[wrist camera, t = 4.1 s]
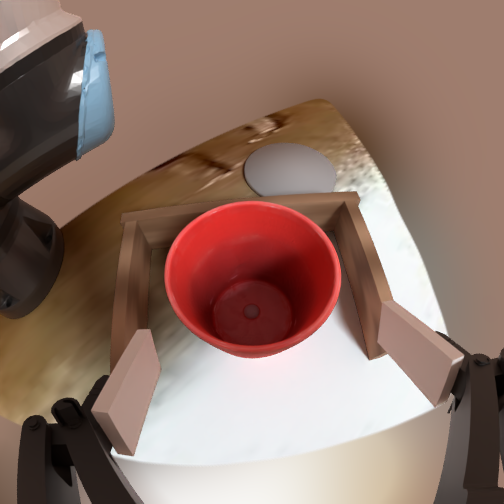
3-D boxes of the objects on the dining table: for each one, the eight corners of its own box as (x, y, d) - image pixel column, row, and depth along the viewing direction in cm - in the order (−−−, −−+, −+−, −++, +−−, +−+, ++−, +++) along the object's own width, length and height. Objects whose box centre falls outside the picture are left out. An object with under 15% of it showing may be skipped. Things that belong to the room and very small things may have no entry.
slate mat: (228, 189, 33) (228, 185, 33) (264, 138, 39) (264, 135, 38) (324, 219, 30) (325, 216, 30) (342, 160, 36) (343, 157, 36)
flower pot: (229, 249, 28) (219, 180, 20) (328, 293, 26) (360, 234, 17) (172, 336, 23) (130, 294, 15) (281, 394, 21) (299, 387, 13)
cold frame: (385, 355, 22) (411, 342, 18) (130, 386, 21) (103, 378, 16) (344, 221, 30) (356, 191, 26) (138, 241, 29) (122, 213, 25)
